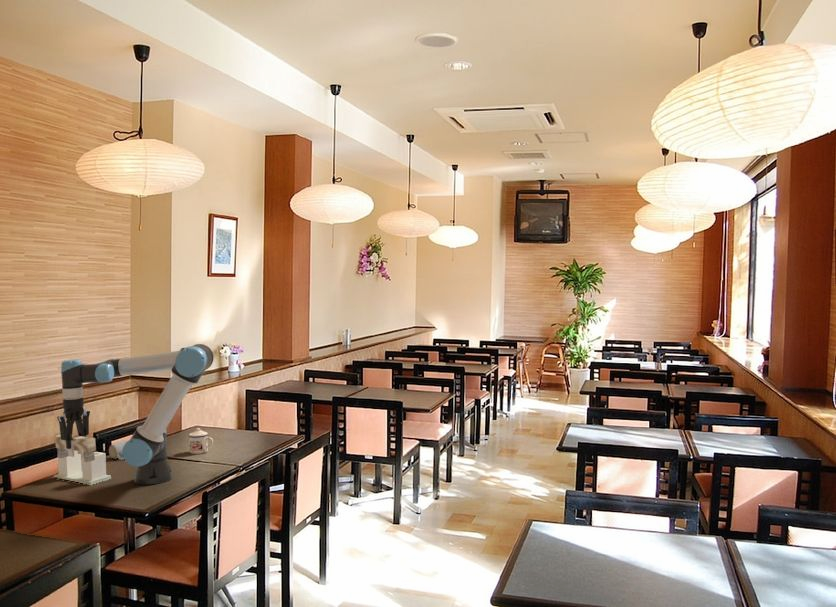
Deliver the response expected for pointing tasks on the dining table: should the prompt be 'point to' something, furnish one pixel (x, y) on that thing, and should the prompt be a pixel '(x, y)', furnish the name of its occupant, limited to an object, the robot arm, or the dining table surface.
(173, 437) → the dining table surface
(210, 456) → the dining table surface
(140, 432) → the robot arm
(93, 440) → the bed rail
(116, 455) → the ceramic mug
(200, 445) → the teacup with lid
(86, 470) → the twin white pillars base
